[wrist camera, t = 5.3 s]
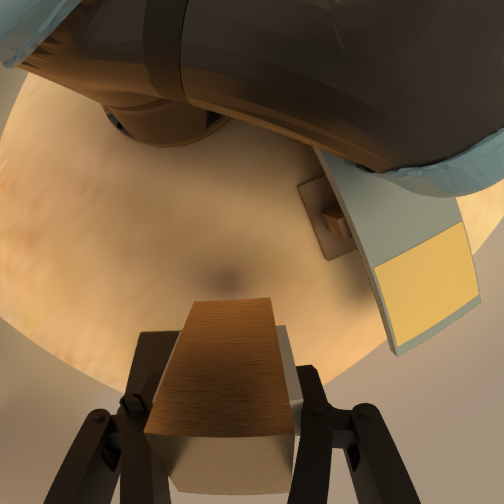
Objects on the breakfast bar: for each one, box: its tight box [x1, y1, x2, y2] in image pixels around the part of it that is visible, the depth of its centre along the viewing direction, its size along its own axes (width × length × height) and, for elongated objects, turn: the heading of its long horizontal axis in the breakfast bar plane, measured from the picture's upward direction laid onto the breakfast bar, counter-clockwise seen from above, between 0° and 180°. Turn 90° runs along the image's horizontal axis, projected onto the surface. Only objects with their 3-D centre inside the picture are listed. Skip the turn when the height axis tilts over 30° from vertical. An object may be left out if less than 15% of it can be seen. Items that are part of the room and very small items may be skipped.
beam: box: [312, 146, 481, 357], centre depth 18 cm, size 22×10×4 cm, turn 24°
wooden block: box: [143, 298, 295, 495], centre depth 13 cm, size 5×5×11 cm
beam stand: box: [297, 141, 357, 261], centre depth 23 cm, size 15×13×6 cm
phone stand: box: [117, 332, 180, 414], centre depth 26 cm, size 9×6×12 cm, turn 5°
